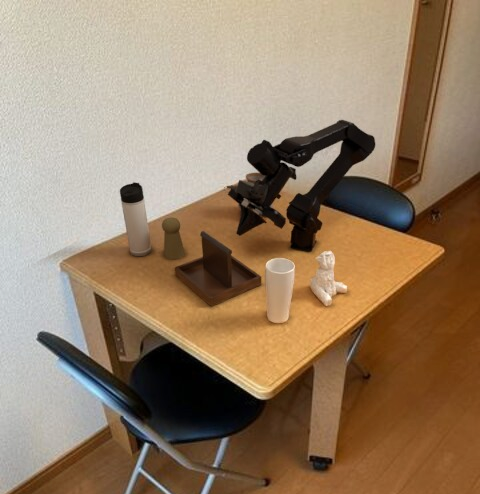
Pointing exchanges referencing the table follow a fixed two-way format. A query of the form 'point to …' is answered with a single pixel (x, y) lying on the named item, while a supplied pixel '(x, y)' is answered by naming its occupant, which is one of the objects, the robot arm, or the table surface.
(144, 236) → the travel mug
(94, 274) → the table surface
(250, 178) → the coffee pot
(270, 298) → the drinking glass
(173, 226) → the olive game pawn
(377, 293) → the table surface
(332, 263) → the sitting furry creature
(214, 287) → the tray
